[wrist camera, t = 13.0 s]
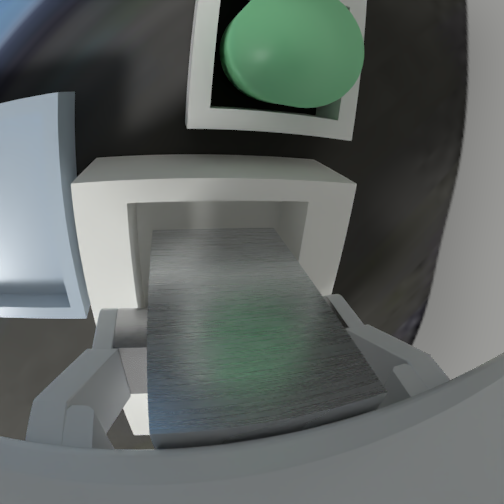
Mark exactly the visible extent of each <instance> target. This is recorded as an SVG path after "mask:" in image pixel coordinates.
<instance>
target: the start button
mask: <svg viewBox="0 0 504 504" xmlns="http://www.w3.org/2000/svg"><path fill="white" fill-rule="evenodd" d="M219 55H220V62H221V65H222V68H223V71H224V73H225V75H226V76H227V78H228V80H229V81H230V82H231V83H232V85H233V86H234V87H235V88H236V89H238V90H239V91H240V92H242V93H243V94H245V95H246V96H248V97H250V98H252V99H255V100H258V101H262V102H268V103H274V104H281V105H287V106H293V107H298V108H315V107H320V106H324V105H327V104H330V103H332V102H334V101H336V100H338V99H340V98H341V97H342V96H344V95H345V94H346V93H347V92H348V91H349V90H350V89H351V88H352V87H353V85H354V84H355V82H356V81H357V79H358V77H359V75H360V73H361V70H362V66H363V61H364V42H363V37H362V34H361V31H360V28H359V26H358V24H357V22H356V20H355V18H354V17H353V15H352V14H351V12H350V11H349V10H348V9H347V7H346V6H345V5H344V4H343V3H341V2H340V1H339V0H251V1H250V2H249V3H248V4H247V5H246V6H245V7H244V8H243V9H242V10H241V11H240V12H239V14H238V15H237V16H236V17H235V18H234V19H233V20H232V21H231V22H230V23H229V25H228V26H227V28H226V29H225V31H224V33H223V35H222V38H221V42H220V48H219Z"/></svg>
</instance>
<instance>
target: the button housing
mask: <svg viewBox="0 0 504 504" xmlns="http://www.w3.org/2000/svg"><path fill="white" fill-rule="evenodd" d="M220 1H221V0H196V3H195V11H194V19H193V28H192V37H191V47H190V58H189V69H188V82H187V96H186V112H185V125H186V127H187V129H226V130H247V131H263V132H277V133H288V134H299V135H308V136H317V137H325V138H333V139H341V140H348V141H352V135H353V128H354V121H355V114H356V107H357V99H358V92H359V83H360V75H361V73H360V75H359V77H358V79H357V81H356V82H355V84H354V85H353V87H352V88H351V89H350V90H349V91H348V92H347V93H346V94H345V95H344V96H342V97H341V98H340V99H338V100H336V101H334V102H332V103H330V104H327V105H324V106H320V107H316V115H311V114H303V113H295V112H287V111H277V110H267V109H255V108H242V107H224V106H210V104H211V91H212V79H213V67H214V57H215V46H216V36H217V27H218V18H219V9H220ZM248 1H251V0H248ZM339 1H340V2H341V3H343V4H344V5H345V6H346V7H347V9H348V10H349V11H350V12H351V14H352V15H353V17H354V18H355V20H356V22H357V24H358V26H359V28H360V31H361V34H362V37H363V42H364V33H365V20H366V5H367V0H339Z"/></svg>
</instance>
